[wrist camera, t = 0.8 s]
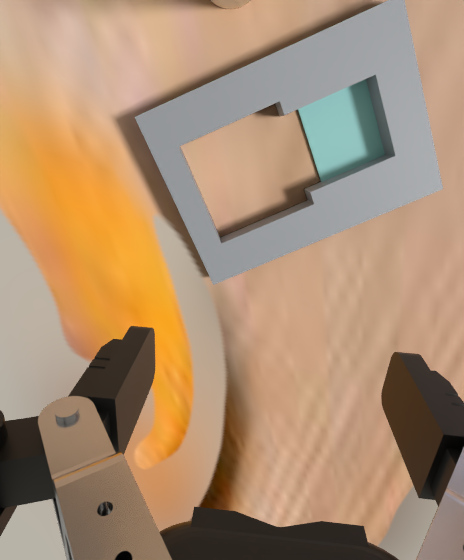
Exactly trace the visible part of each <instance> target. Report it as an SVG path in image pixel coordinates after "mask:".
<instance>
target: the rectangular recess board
mask: <svg viewBox="0 0 464 560" xmlns="http://www.w3.org/2000/svg"><path fill="white" fill-rule="evenodd" d="M273 104H275V105H276V108H277V111H278V114H279V116H283V115H286V114H288V113H291V112H293V111H295V110H297V109H298V112H299V115H300V118H301V121H302V124H303V127H304V130H305V134H306V137H307V140H308V143H309V146H310V149H311V152H312V155H313V158H314V162H315V165H316V168H317V171H318V174H319V177H320V180H321V182H319V183H317V184H314V185H312V186H310V187H307V188H305V189H304V190H305V193H306V196H307V199H308V200H307V201H305V202H302V203H300V204H298V205H295V206H293V207H291V208H288V209H286V210H284V211H281V212H279V213H277V214H274V215H272V216H269V217H267V218H265V219H262V220H260V221H258V222H255V223H253V224H251V225H248V226H246V227H244V228H241V229H239V230H237V231H234V232H232V233H230V234H227V235H225V236H223V237H220V236H219V233H218V231H217V229H216V227H215V224H214V222H213V220H212V218H211V215H210V213H209V211H208V209H207V206H206V204H205V202H204V200H203V197H202V195H201V193H200V190H199V188H198V186H197V184H196V181H195V179H194V177H193V175H192V172H191V170H190V168H189V166H188V163H187V161H186V159H185V157H184V154H183V152H182V150H181V147H180V146H181V145H183V144H186V143H188V142H190V141H192V140H195V139H197V138H199V137H201V136H204V135H206V134H208V133H210V132H212V131H215V130H217V129H219V128H221V127H224V126H226V125H228V124H230V123H232V122H235V121H237V120H239V119H241V118H244V117H246V116H248V115H250V114H252V113H255V112H257V111H259V110H261V109H264V108H266V107H268V106H270V105H273ZM135 119H136V121H137V124H138V126H139V128H140V130H141V132H142V134H143V136H144V138H145V140H146V143H147V145H148V147H149V149H150V151H151V153H152V155H153V157H154V160H155V162H156V164H157V166H158V168H159V170H160V172H161V174H162V177H163V179H164V181H165V183H166V185H167V187H168V189H169V191H170V194H171V196H172V198H173V200H174V202H175V204H176V206H177V208H178V210H179V213H180V215H181V217H182V219H183V221H184V223H185V225H186V227H187V230H188V232H189V234H190V236H191V238H192V240H193V242H194V244H195V247H196V249H197V251H198V253H199V255H200V257H201V259H202V261H203V264H204V266H205V268H206V270H207V272H208V274H209V276H210V278H211V280H212V283H213V285H214V284H217V283H219V282H221V281H224V280H226V279H228V278H231V277H233V276H236V275H238V274H240V273H243V272H245V271H248V270H250V269H252V268H255V267H257V266H260V265H262V264H264V263H267V262H269V261H272V260H274V259H276V258H279V257H281V256H284V255H286V254H288V253H291V252H293V251H296V250H298V249H300V248H303V247H305V246H308V245H310V244H312V243H315V242H317V241H320V240H322V239H324V238H327V237H329V236H332V235H334V234H336V233H339V232H341V231H344V230H346V229H348V228H351V227H353V226H355V225H358V224H360V223H363V222H365V221H367V220H370V219H372V218H375V217H377V216H379V215H382V214H384V213H387V212H389V211H391V210H394V209H396V208H399V207H401V206H403V205H406V204H408V203H411V202H413V201H415V200H418V199H420V198H423V197H425V196H427V195H430V194H432V193H435V192H437V191H439V190H442V189H443V186H442V181H441V176H440V172H439V167H438V162H437V157H436V152H435V147H434V142H433V137H432V133H431V128H430V123H429V118H428V113H427V108H426V103H425V98H424V94H423V89H422V84H421V79H420V74H419V69H418V64H417V59H416V55H415V50H414V45H413V40H412V35H411V30H410V25H409V20H408V16H407V11H406V6H405V1H404V0H388V1H386V2H384V3H382V4H379V5H377V6H375V7H373V8H371V9H368V10H366V11H364V12H362V13H360V14H358V15H355V16H353V17H351V18H349V19H347V20H345V21H342V22H340V23H338V24H336V25H334V26H331V27H329V28H327V29H325V30H323V31H321V32H318V33H316V34H314V35H312V36H310V37H308V38H305V39H303V40H301V41H299V42H297V43H295V44H292V45H290V46H288V47H286V48H284V49H281V50H279V51H277V52H275V53H273V54H271V55H268V56H266V57H264V58H262V59H260V60H258V61H255V62H253V63H251V64H249V65H247V66H244V67H242V68H240V69H238V70H236V71H234V72H231V73H229V74H227V75H225V76H223V77H221V78H218V79H216V80H214V81H212V82H210V83H208V84H205V85H203V86H201V87H199V88H197V89H194V90H192V91H190V92H188V93H186V94H184V95H181V96H179V97H177V98H175V99H173V100H171V101H168V102H166V103H164V104H162V105H160V106H157V107H155V108H153V109H151V110H149V111H147V112H144V113H142V114H140V115H138V116H136V117H135Z"/></svg>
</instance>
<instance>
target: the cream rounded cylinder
mask: <svg viewBox="0 0 464 560" xmlns="http://www.w3.org/2000/svg"><path fill="white" fill-rule="evenodd" d="M210 1H211V2H212V3H214V4H215V5H217V6H219V7H221V8H225V9H236V8H239V7H242V6H244V5H245V4H247V3H248V2H249V1H250V0H210Z"/></svg>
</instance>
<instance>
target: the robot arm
mask: <svg viewBox="0 0 464 560" xmlns="http://www.w3.org/2000/svg"><path fill="white" fill-rule="evenodd" d="M154 373H155V334H154V329H153V328H148V327H137V326H131V327H130V328H129V329H128V331H127V333H126V334H125V336H124V338H123V339H122V340H119V339H113V340H111V341H110V342H108V343H107V344H105V345H104V346H102V347H101V349H100V350H99V352H98V353H97V355H96V356H95V359H93V360H92V362H91V363H90V365H89V368H87V369H86V371H85V372H84V374H83V375H82V377H81V378H80V380H79V381H78V383H77V384H76V386H75V387H74V389H73V390H72V391H71V393H70V395H69V396H68V397H64V398H61V399H58V400H56V401H54V402H52V403H50V404H49V405H47V406H46V407H45V408H44V409H43V410H42V412H41V413H40V415H39V416H36V417H31V418H24V419H17V420H9V421H5V419H4V415H3V413H2V412H1V411H0V536H1V534H2V532H3V530H4V529H5V527H6V525H7V523H8V521H9V520H10V518H11V516H12V514H13V512H14V511H15V509H16V507H17V505H22V504H28V503H33V502H38V501H43V500H48V499H52V500H53V504H54V508H55V512H56V517H57V521H58V525H59V529H60V533H61V537H62V541H63V546H64V550H65V554H66V558H67V560H398V559H397V558H396V557H394V556H393V555H391V554H390V553H388V552H387V551H385V550H383V549H381V548H379V547H377V546H375V545H374V544H371V543H369V542H367V538H366V534H365V530H364V526H358V525H349V524H341V523H332V522H323V521H320V522H314V523H307V524H300V525H294V526H287V527H276V526H273V525H270V524H267V523H265V522H262V521H259V520H257V519H254V518H251V517H249V516H246V515H244V514H241V513H238V512H236V511H228V510H219V509H210V508H201V507H194V511H193V517H192V521H188V522H183V523H179V524H176V525H173V526H171V527H168V528H166V529H164V530H162V531H160V532H159V530H158V528H157V526H156V524H155V522H154V520H153V517H152V515H151V513H150V511H149V509H148V507H147V505H146V503H145V501H144V498H143V496H142V494H141V492H140V489H139V487H138V485H137V483H136V481H135V479H134V476H133V474H132V472H131V470H130V468H129V466H128V464H127V461H126V460H125V457H124V452H125V450H126V447H127V445H128V442H129V440H130V437H131V435H132V433H133V430H134V427H135V425H136V423H137V420H138V418H139V415H140V413H141V410H142V408H143V405H144V403H145V400H146V398H147V395H148V393H149V390H150V388H151V386H152V383H153V379H154ZM382 406H383V410H384V412H385V415H386V417H387V420H388V422H389V425H390V427H391V430H392V432H393V435H394V437H395V440H396V442H397V445H398V447H399V450H400V452H401V455H402V457H403V460H404V462H405V465H406V467H407V470H408V472H409V475H410V477H411V480H412V482H413V485H414V487H415V490H416V492H417V494H418V497H419V498H423V499H432V500H436V502H437V504H438V509H437V511H436V513H435V516H434V518H433V520H432V523H431V525H430V528H429V530H428V532H427V535H426V537H425V539H424V542H423V544H422V547H421V549H420V551H419V554H418V556H417V558H416V560H464V403H463V401H462V400H461V398H460V397H458V394H457V392H456V391H455V389H454V388H453V386H452V385H451V384H450V382H449V381H448V380H446V379H445V378H444V377H443V376H441V375H440V374H439V373H438V372H436V371H430V369H429V367H428V366H427V364H426V363H425V361H424V360H423V358H422V357H421V355H419V354H412V353H401V352H394V353H393V355H392V357H391V360H390V364H389V367H388V371H387V374H386V378H385V381H384V385H383V389H382Z"/></svg>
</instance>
